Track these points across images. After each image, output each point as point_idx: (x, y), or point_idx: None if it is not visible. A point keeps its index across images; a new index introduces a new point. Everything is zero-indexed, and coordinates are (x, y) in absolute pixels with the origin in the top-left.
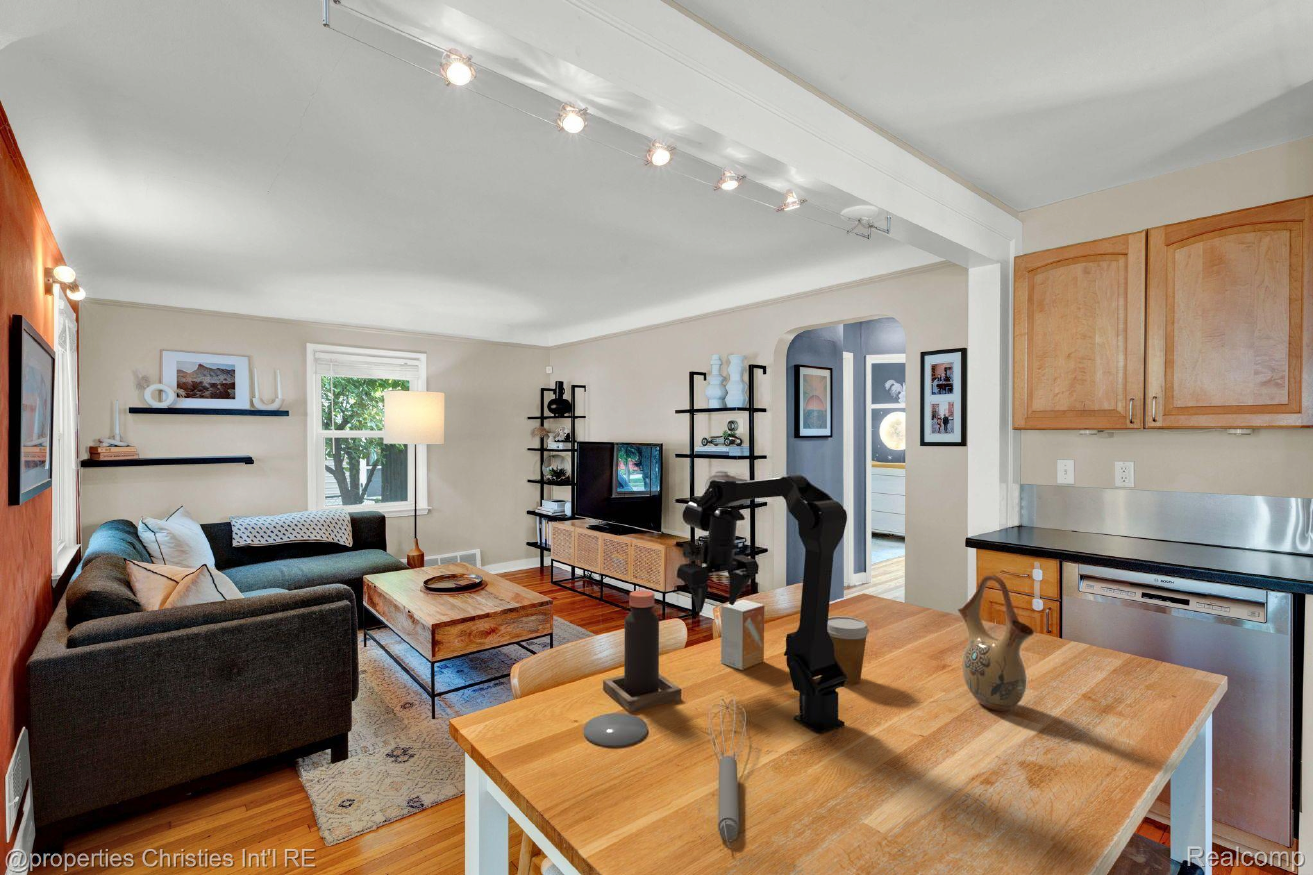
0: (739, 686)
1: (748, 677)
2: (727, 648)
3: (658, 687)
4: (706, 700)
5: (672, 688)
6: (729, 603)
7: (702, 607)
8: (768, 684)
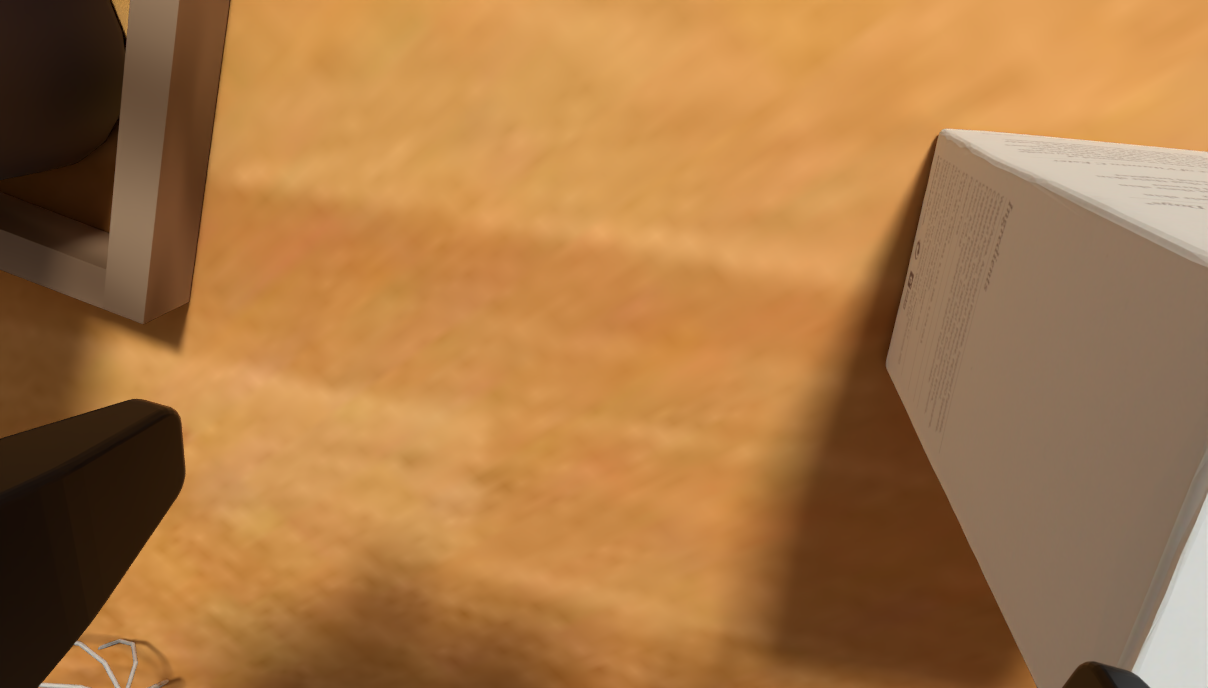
0: (610, 479)
1: (791, 456)
2: (953, 250)
3: (65, 153)
4: (298, 425)
5: (99, 272)
6: (1077, 677)
7: (85, 599)
8: (766, 601)
